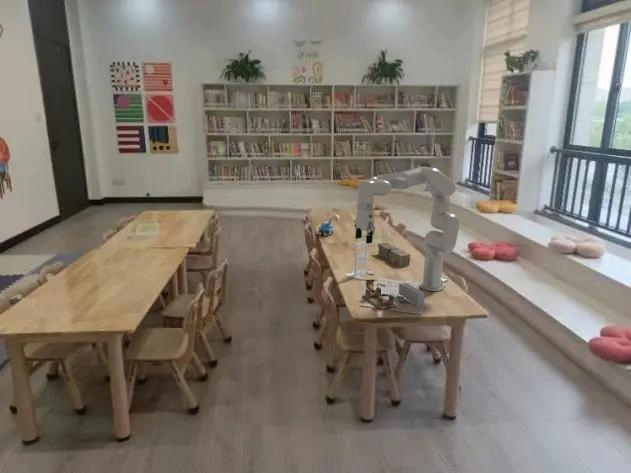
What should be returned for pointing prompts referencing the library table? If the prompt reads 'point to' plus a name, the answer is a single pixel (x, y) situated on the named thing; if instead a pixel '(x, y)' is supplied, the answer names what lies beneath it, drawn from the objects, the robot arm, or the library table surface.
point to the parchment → (370, 284)
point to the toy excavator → (327, 227)
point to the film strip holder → (356, 272)
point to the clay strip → (411, 294)
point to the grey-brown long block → (394, 254)
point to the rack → (379, 299)
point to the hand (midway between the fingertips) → (363, 240)
